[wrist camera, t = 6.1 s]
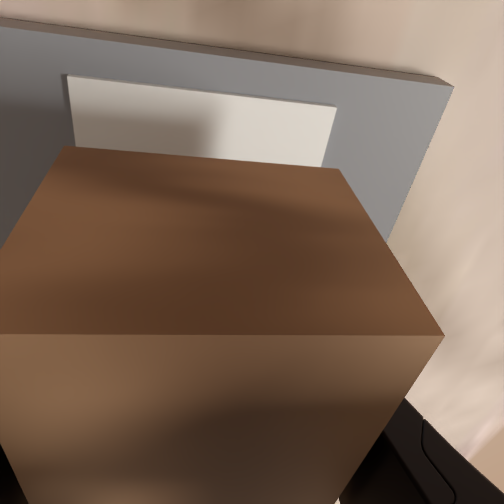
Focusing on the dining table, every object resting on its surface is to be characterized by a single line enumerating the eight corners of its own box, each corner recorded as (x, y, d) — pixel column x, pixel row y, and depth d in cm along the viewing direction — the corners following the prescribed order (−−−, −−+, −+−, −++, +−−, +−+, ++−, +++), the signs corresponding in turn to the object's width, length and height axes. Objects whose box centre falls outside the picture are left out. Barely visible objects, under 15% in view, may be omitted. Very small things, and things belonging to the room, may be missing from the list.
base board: (19, 315, 16) (8, 338, 15) (-74, 7, 10) (-102, 15, 9) (339, 319, 19) (346, 339, 18) (437, 77, 12) (457, 89, 11)
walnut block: (98, 377, 13) (58, 565, 9) (64, 145, 8) (-51, 334, 4) (276, 375, 14) (309, 542, 10) (338, 168, 9) (445, 335, 5)
